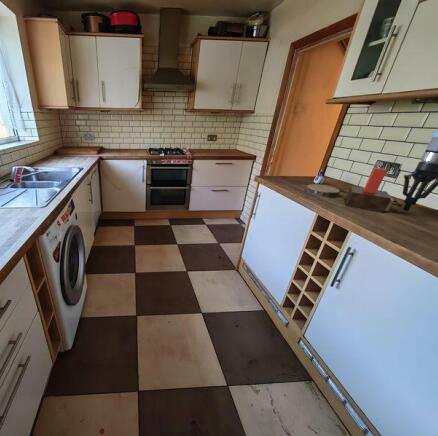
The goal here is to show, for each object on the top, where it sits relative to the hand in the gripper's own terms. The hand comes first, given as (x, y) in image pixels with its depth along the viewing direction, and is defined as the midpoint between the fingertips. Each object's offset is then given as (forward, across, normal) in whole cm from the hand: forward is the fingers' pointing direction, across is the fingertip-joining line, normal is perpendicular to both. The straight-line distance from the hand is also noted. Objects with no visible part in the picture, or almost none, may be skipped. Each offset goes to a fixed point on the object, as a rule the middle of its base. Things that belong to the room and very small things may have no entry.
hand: (405, 210), depth 113 cm
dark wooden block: (+1, +16, 0) cm, 16 cm away
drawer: (+1, +12, 0) cm, 12 cm away
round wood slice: (+1, +35, -10) cm, 36 cm away
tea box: (-6, +16, 0) cm, 17 cm away
